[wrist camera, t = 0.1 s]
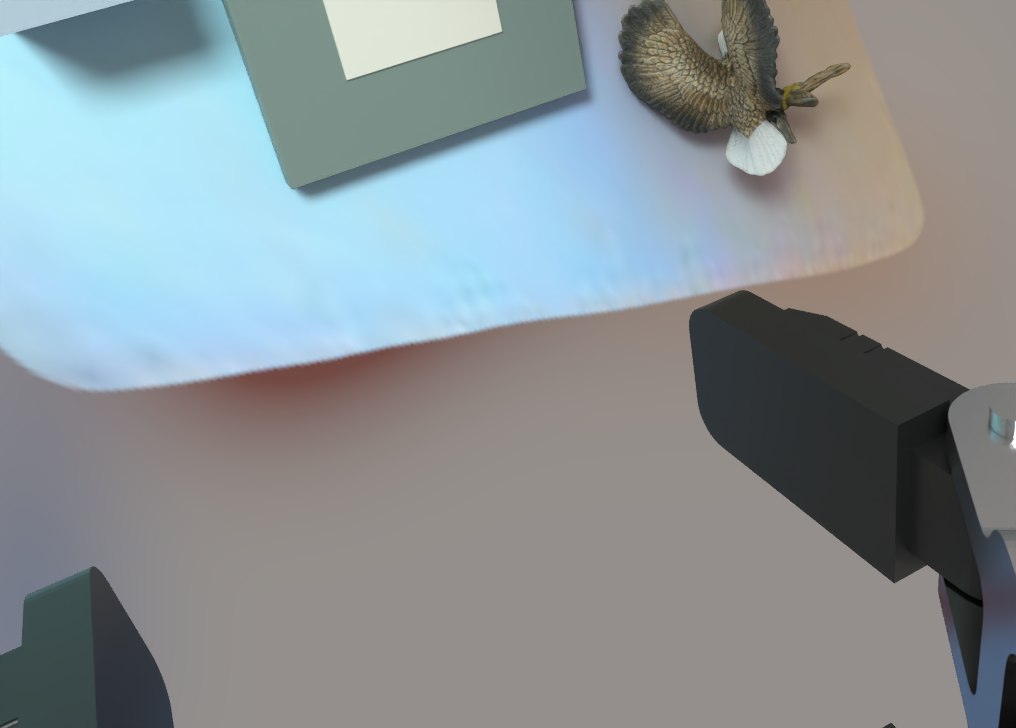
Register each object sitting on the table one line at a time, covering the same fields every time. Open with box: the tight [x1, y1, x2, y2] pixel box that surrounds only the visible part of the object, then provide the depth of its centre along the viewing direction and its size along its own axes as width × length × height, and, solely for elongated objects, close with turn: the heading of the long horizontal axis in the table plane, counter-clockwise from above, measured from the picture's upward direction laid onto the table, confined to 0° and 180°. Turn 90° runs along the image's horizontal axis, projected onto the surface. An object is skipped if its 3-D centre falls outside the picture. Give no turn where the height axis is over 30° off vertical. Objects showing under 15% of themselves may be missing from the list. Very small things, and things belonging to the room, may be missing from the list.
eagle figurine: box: [618, 0, 851, 176], centre depth 42 cm, size 8×7×9 cm
